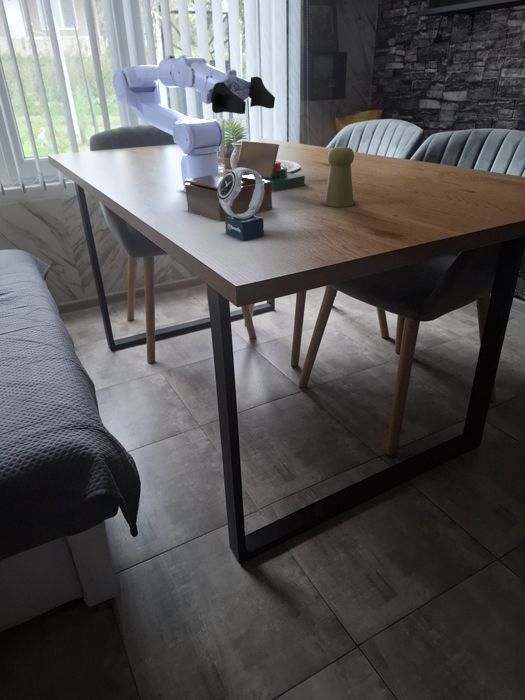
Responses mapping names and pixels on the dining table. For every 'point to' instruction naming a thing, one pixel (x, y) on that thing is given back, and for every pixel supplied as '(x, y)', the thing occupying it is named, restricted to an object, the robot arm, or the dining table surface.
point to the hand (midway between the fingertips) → (259, 105)
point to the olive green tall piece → (340, 178)
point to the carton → (207, 202)
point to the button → (277, 165)
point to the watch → (246, 222)
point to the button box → (283, 179)
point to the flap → (258, 157)
